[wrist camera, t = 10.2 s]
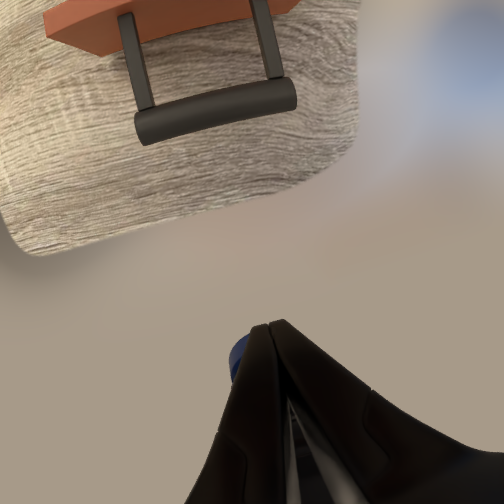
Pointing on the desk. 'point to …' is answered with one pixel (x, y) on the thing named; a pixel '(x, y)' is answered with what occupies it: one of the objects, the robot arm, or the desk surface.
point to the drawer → (169, 22)
